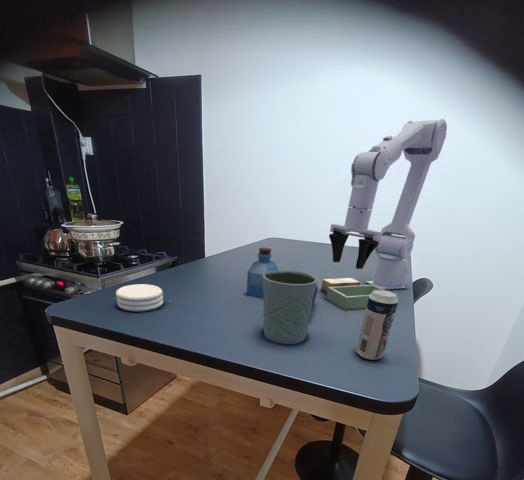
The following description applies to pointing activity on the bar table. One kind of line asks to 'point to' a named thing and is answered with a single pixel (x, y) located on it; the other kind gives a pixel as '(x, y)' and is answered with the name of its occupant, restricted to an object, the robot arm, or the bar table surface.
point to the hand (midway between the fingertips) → (347, 265)
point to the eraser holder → (350, 296)
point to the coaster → (139, 297)
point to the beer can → (377, 324)
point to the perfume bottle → (259, 273)
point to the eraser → (338, 283)
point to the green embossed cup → (287, 305)
